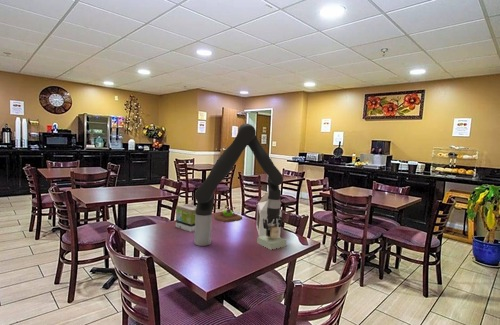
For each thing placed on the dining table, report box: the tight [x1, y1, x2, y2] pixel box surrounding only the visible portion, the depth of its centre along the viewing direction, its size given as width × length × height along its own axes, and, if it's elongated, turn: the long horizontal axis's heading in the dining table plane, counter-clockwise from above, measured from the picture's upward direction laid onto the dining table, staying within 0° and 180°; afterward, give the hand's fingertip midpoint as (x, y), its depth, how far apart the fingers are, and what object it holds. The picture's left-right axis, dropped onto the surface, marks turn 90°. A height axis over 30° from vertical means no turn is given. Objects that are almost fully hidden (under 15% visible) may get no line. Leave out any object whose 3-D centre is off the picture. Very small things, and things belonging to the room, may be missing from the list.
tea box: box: [175, 203, 197, 233], centre depth 191 cm, size 15×10×15 cm, turn 55°
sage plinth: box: [256, 235, 287, 251], centre depth 168 cm, size 12×12×4 cm
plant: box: [213, 204, 243, 223], centre depth 220 cm, size 20×20×11 cm
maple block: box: [266, 225, 279, 239], centre depth 168 cm, size 5×5×6 cm
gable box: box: [255, 189, 283, 237], centre depth 190 cm, size 22×13×28 cm, turn 3°
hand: (271, 235), depth 168 cm, fingers open, 5 cm apart
